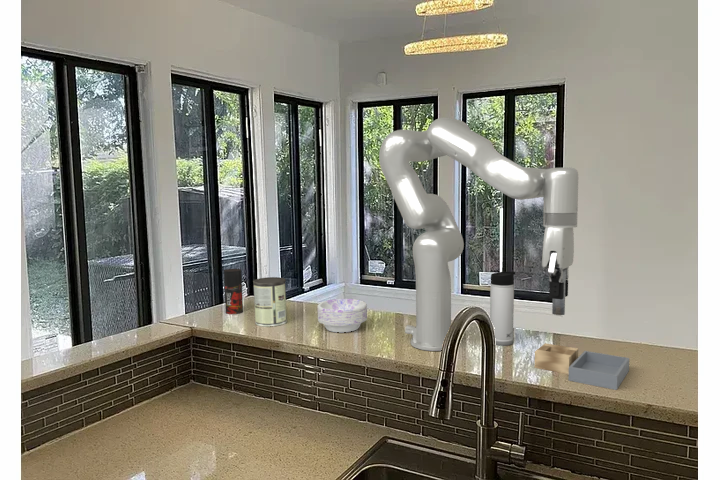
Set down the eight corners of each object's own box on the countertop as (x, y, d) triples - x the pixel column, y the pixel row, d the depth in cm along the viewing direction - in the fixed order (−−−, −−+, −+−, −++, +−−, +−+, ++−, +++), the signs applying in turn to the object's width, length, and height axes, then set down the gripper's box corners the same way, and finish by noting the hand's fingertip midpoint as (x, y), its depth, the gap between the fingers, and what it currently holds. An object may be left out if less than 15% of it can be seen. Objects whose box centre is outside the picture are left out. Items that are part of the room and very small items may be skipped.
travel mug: (515, 346, 147) (516, 273, 145) (490, 345, 149) (491, 273, 146) (513, 339, 153) (514, 269, 151) (489, 338, 155) (490, 269, 152)
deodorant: (223, 314, 188) (221, 271, 186) (228, 310, 194) (226, 268, 192) (240, 314, 187) (238, 271, 186) (245, 310, 193) (243, 268, 192)
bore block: (534, 367, 131) (534, 351, 130) (544, 358, 137) (545, 343, 137) (568, 374, 126) (569, 357, 126) (577, 364, 132) (578, 348, 132)
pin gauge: (549, 314, 130) (550, 264, 128) (553, 311, 132) (554, 262, 131) (563, 316, 128) (564, 265, 126) (567, 313, 130) (568, 263, 129)
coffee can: (260, 318, 182) (259, 276, 180) (290, 319, 180) (289, 277, 179) (250, 326, 172) (248, 282, 170) (281, 327, 170) (280, 283, 168)
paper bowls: (322, 337, 158) (321, 311, 157) (314, 324, 173) (313, 300, 172) (372, 333, 162) (372, 307, 161) (360, 320, 177) (360, 296, 176)
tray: (568, 380, 122) (568, 367, 122) (584, 362, 133) (584, 350, 133) (616, 390, 116) (617, 376, 116) (628, 370, 128) (629, 358, 127)
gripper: (554, 217, 136) (552, 289, 138) (532, 222, 123) (531, 302, 125) (585, 218, 132) (583, 292, 134) (566, 223, 119) (565, 305, 121)
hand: (558, 296), depth 130 cm, fingers closed on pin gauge, 2 cm apart
